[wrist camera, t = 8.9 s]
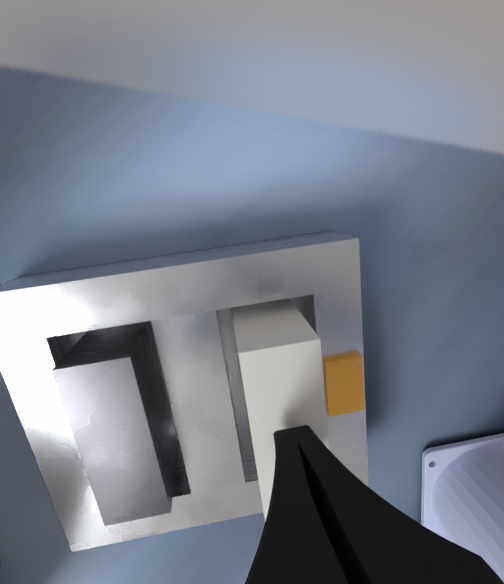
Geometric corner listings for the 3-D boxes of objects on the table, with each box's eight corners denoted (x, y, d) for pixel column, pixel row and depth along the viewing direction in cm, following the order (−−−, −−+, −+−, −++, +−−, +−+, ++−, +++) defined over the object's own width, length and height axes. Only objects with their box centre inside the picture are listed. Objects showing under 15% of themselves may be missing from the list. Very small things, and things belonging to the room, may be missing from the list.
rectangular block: (301, 424, 20) (333, 507, 14) (250, 434, 20) (265, 522, 14) (287, 295, 17) (320, 339, 12) (230, 305, 17) (238, 353, 12)
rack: (346, 448, 22) (382, 516, 17) (92, 498, 20) (58, 586, 16) (333, 230, 18) (376, 243, 13) (16, 277, 16) (-60, 309, 12)
